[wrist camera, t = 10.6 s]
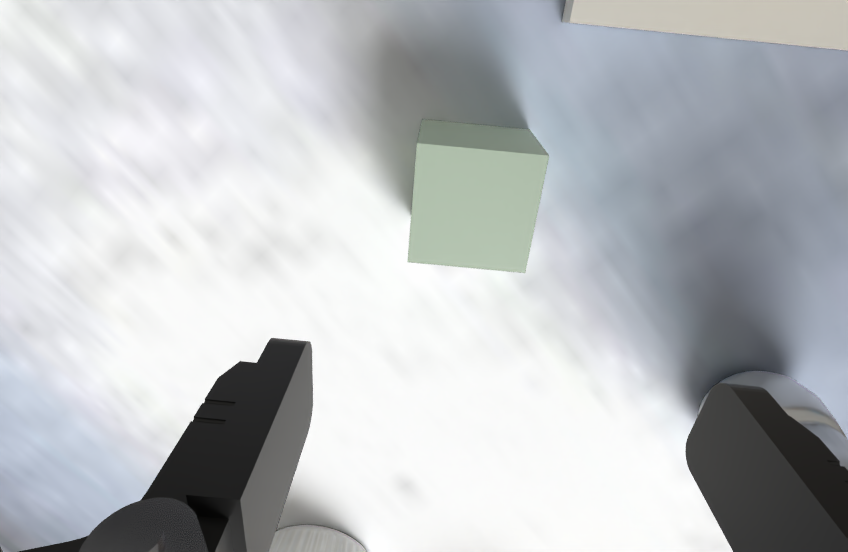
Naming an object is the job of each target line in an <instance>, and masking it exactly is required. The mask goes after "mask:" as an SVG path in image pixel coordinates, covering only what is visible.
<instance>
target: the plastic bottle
mask: <svg viewBox="0 0 848 552" xmlns="http://www.w3.org/2000/svg"><path fill="white" fill-rule="evenodd" d="M719 383H728V384H738V385H749V386H758V387H762V388H764V389H765V390H767V391H768V392H769V393H770V395H771V396H772V397H773V398H774V399H775V400H776V402H777V403H778V404H779V405H780V406H781V407H782V409H783V410H784V411H785V412H786V413H787V414H788V416H791V417H792V418H793V419H795V420H796V421H797V422H799V423H800V424H801V425H803V426H804V427H806V428H807V429H808V430H810V431H811V432H812V433H814V434H815V435H816V436H818V437H819V438H820V439H821V441H822V442H823V443H824V444H825V445H826V446H827V447H828V448H829V450H830V451H831V452H832V453H833V454H834V455H835V456H836V457H837V459H838V460H839V461H840V466H845V468H846V469H847V470H848V440H847V438H846V436H845V434H844V433H843V431H842V429H841V428H840V426H839V424H838V423H837V421H836V419H835V418H834V417H833V415H832V414H831V413H830V411H829V410H828V409H827V407H826V406H825V405H824V403H823V402H822V401H821V399H820V398H818V397H817V396H816V395H815V394H814V393H813V392H811V391H810V390H808V389H807V388H805V387H804V386H803V385H801V384H800V383H798V382H797V381H796V380H794V379H792V378H790V377H788V376H786V375H782V374H778V373H773V372H766V371H747V372H742V373H738V374H735V375H732V376H730V377H728V378H726V379H724V380H722V381H720V382H719ZM711 389H712V388H711ZM709 392H710V391H709ZM709 392H708V393H707V394H706V395H705V397H704V398H703V400H702V402H701V405H700V408H699V412H698V415H699V413H700V411H701V409H702V407H703V405H704V403H705V400H706V398H707V396H708V394H709Z"/></svg>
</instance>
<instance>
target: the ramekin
mask: <svg viewBox="0 0 848 552" xmlns="http://www.w3.org/2000/svg"><path fill="white" fill-rule="evenodd" d="M269 552H367V551H366V550H365V549H364V547H363V546H362V545H361V544H360V543H358V542H357V541H356V540H354V539H353V538H351V537H350V536H348V535H346V534H344V533H342V532H340V531H337V530H335V529H331V528H328V527H323V526H316V525H297V526H290V527H286V528H283V529H280V530H278V531H276V532H275V535H274V538H273V541H272V544H271V547H270V550H269Z"/></svg>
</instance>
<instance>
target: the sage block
mask: <svg viewBox="0 0 848 552" xmlns="http://www.w3.org/2000/svg"><path fill="white" fill-rule="evenodd" d="M548 159H549V155H548V153H547V152H546V151H545V149H544V148H543V147H542V145H541V144H540V143H539V141H538V140H537V139H536V137H535V136H534V135H533V133H532V132H531V131H530V129H521V128H510V127H500V126H489V125H479V124H468V123H458V122H447V121H437V120H426V119H422V122H421V127H420V131H419V136H418V140H417V147H416V160H415V173H414V186H413V199H412V212H411V225H410V238H409V251H408V262H412V263H423V264H434V265H444V266H455V267H466V268H476V269H487V270H498V271H509V272H519V273H525V271H526V266H527V261H528V257H529V252H530V247H531V242H532V237H533V232H534V227H535V222H536V217H537V213H538V208H539V203H540V198H541V193H542V188H543V183H544V178H545V174H546V169H547V164H548Z"/></svg>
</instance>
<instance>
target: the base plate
mask: <svg viewBox="0 0 848 552" xmlns="http://www.w3.org/2000/svg"><path fill="white" fill-rule="evenodd" d="M562 22H566V23H576V24H586V25H596V26H606V27H616V28H626V29H636V30H646V31H656V32H666V33H676V34H686V35H696V36H706V37H716V38H726V39H736V40H746V41H756V42H766V43H776V44H786V45H796V46H805V47H815V48H825V49H835V50H845V51H848V0H566V2H565V8H564V13H563V18H562Z"/></svg>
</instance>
